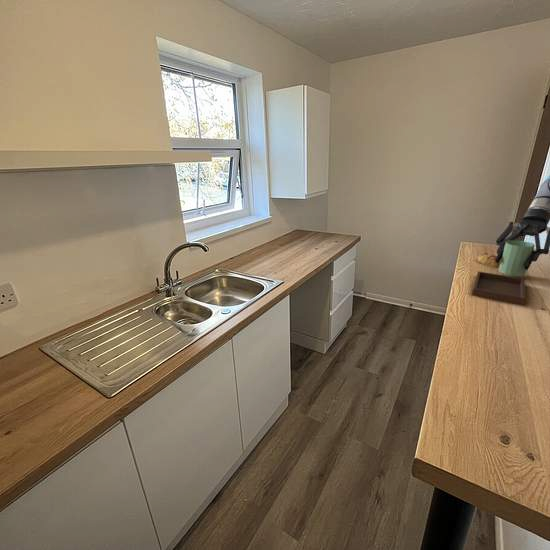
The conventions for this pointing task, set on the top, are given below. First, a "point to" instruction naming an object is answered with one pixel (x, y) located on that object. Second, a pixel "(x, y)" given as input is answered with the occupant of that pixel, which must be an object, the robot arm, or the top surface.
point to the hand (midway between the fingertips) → (511, 264)
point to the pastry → (488, 259)
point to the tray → (500, 288)
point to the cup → (515, 257)
